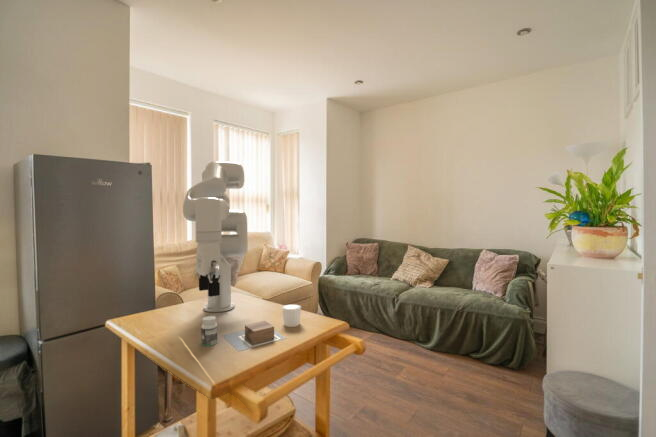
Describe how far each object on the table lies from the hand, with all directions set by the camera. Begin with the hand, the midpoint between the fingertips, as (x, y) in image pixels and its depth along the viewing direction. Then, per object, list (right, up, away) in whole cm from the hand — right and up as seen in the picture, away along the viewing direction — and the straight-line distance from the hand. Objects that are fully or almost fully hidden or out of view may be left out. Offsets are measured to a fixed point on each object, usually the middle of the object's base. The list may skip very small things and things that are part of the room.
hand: (209, 292), depth 98 cm
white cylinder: (+24, -16, +18) cm, 34 cm away
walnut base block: (+15, -16, +4) cm, 22 cm away
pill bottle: (0, -17, +1) cm, 17 cm away
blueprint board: (+13, -16, +5) cm, 21 cm away
